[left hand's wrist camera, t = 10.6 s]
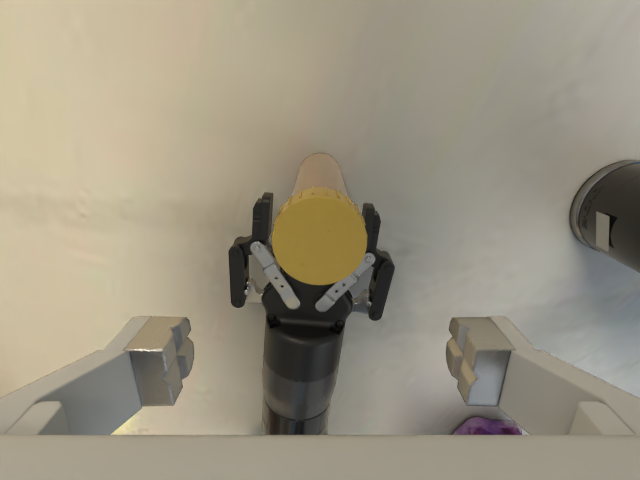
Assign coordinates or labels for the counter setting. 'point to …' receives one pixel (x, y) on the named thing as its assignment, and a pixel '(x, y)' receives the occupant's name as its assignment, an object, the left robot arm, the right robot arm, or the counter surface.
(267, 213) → the right robot arm
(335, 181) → the bottle
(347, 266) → the lid
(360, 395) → the counter surface
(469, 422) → the figurine
